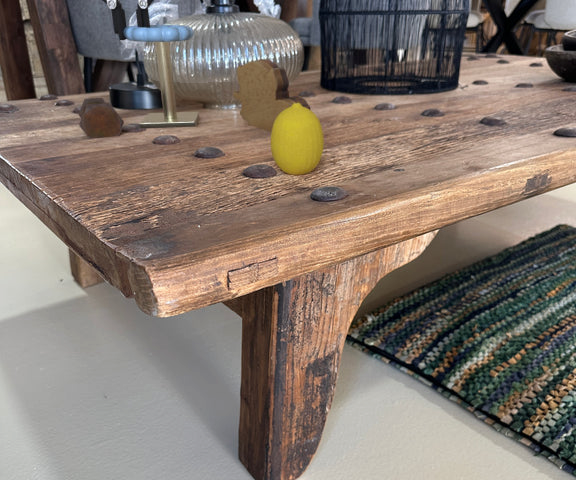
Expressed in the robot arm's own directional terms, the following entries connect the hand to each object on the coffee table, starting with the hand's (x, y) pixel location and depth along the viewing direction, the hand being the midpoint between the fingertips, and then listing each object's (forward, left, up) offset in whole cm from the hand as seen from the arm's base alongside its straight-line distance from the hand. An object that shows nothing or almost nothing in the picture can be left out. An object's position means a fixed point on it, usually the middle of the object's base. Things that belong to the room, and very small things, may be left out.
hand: (133, 38), depth 82 cm
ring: (+4, 0, +1) cm, 4 cm away
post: (+4, 0, -12) cm, 13 cm away
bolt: (-6, -4, -13) cm, 14 cm away
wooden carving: (+19, -9, -13) cm, 25 cm away
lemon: (+21, -31, -13) cm, 40 cm away
